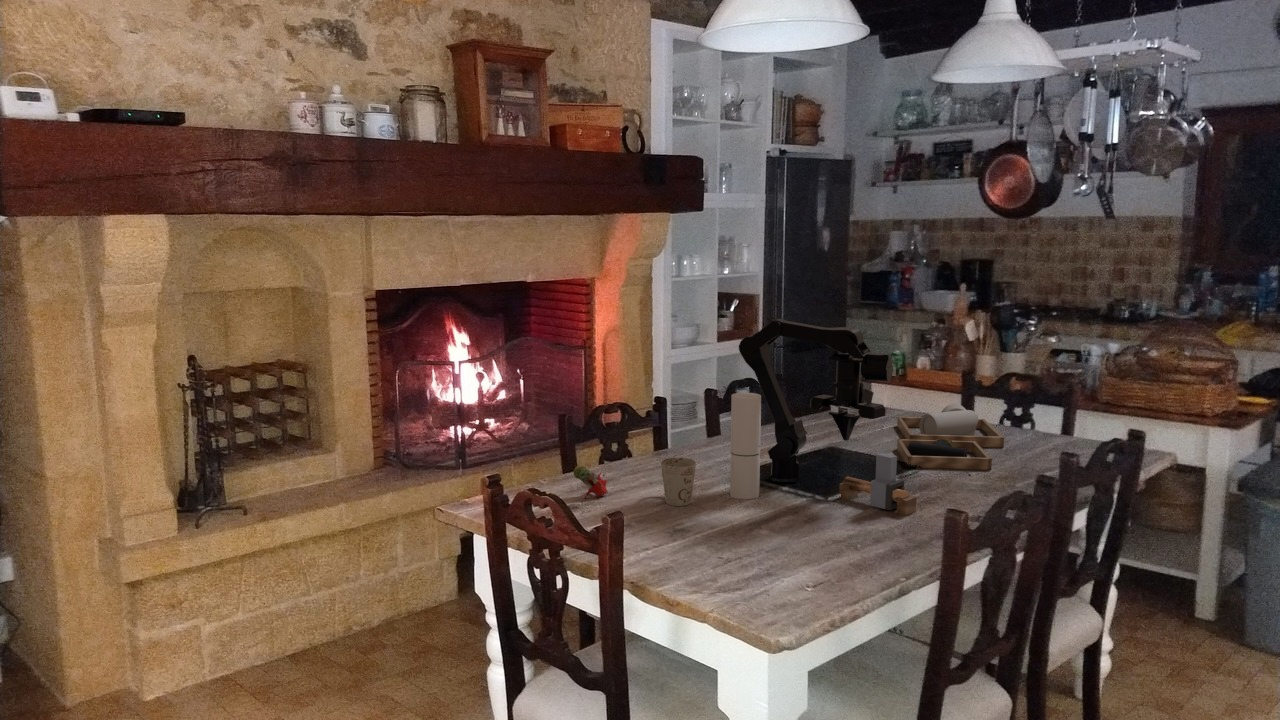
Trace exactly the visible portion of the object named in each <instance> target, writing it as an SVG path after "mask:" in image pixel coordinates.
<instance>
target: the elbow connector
mask: <svg viewBox="0 0 1280 720" xmlns="http://www.w3.org/2000/svg"><path fill="white" fill-rule="evenodd" d="M920 418H921V420H920V427H919V431H920V435H958V436H975V434H976V430H977V429H976V425H977V423H978V419H979V415H978V413H977V412H976V411H975V410H970V409H966V408H965V407H964V406H963V405H961V404H958V403H950V404H947V405H946V406H945V407H943V409H942V410H941V411H940V412H932V413H924V414H923V415H922V416H921V417H920Z"/></svg>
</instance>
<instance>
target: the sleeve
mask: <svg viewBox="0 0 1280 720" xmlns="http://www.w3.org/2000/svg"><path fill="white" fill-rule="evenodd" d="M875 457H876V460H875V479H873V480H871V481H870V482H871V495H870V502H869V505H870V506H872V507H876V508H879V509H883V510H886V509H885V499H886V484H888V483H891V482H894V481H897V480H899V479H900V478H897V463H898V462H897V461H898V456H897V455H894V454H888V453H885V452H880V453H877V454H876V455H875ZM896 488H897V487H896ZM892 502H894V501H892Z"/></svg>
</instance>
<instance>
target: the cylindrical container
mask: <svg viewBox="0 0 1280 720" xmlns="http://www.w3.org/2000/svg"><path fill="white" fill-rule="evenodd" d="M730 397H731V403H730V404H731V407H730V411H731V412H730V414H731V415H730V420H731V421H730V469H729V470H730V478H729V483H730V484H729V494H730V496H731V497H732V498H735V499H739V500H753V499H757V498H758V497H760V472H761V471H760V470H761V469H760V468H761V467H760V466H761V463H760V462H761V423H762V422H761V420H762V414H761V413H762V395H761V394H759V393H755V392H736V393H732V394H731V396H730Z"/></svg>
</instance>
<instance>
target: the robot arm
mask: <svg viewBox="0 0 1280 720" xmlns="http://www.w3.org/2000/svg"><path fill="white" fill-rule="evenodd" d="M780 337H784V338H790V339H796V340H801V341H807V342H812V343H818V344H822V345H824V346H826V347H828V348H830V349H831V350H834V352H833V353H832V355H829V357H828V358H827V359H828V361H835V362H836V375H835V378H836V379H835V382H832V387H833V388H835V396H834V395H830V394H829V395H828V394H821V395H820V394H819V395H816V396H812V398H811V399H810V406H809V407H810V409H815V410H821V409H822V408H823V407H827V408H830V411H829V412H828V415H830V416H831V418H832V419H833V421H834V422H835V424H836V426H837V429H838V430H839V433H840V435H841V437H842V439H843V441H849V439H850V437H851V434H852V433H853V430H854V427H855V425H857V424H856V423H857V422H858V420H859V419H860V418H863V419H869V420H875V419H878V418H883V417H886V410H887V409H886V407H885V406H884V404H882V403H881V404H880V403H877V402H876V403H875V402H872V400H873V398H874V391H871V390H869V389H867V388H864V383H863V382H861V381H860V380H861V377H862V378H864V381H868V382H870V381H871V382H873V381H874V382H881V383H883V382H884V383H891V380H892V376H893V371H894V369H893V365H892V359H891V354H890V353H873V352H872V350H871V349H870V347H868V345H867V344H866V342H865V341H864V335H863V333H862V331H861V330H860V329H859V328H857V327H855V326H854V327H853V326H851V327H850V326H849V327H848V326H847V327H845V326H843V327H842V326H841V327H839V326H838V327H824V326H818V325H813V324H806V323H802V322H796V321H790V320H785V319H783V318H778V319H776V320H772V321H770V323H769V324H768V325H766V326H765V327H763V328H762V329H761V330H759V331H757V332H756V333H754V334H751V335H749V336H745V337H743V338H742V339H740V340H741V341H740V342H739V345H738V351H739V354H740V355H741V357H742V358H743V360H744V362H745V363H746V364H747V365H748V367H750V368H751V370H752V371H753V372H754V374H755V377H756V379H757V382H758V385H759V387H760V389H761V392H762V394H763V397H764V400H765V402H766V404H767V406H768V409H769V412H770V415H771V416H772V419H773V421H774V436H775V441H776V444H775V445H773V446H772V447H771V448H770V449H769V450H767V451H768V452H767V453H768V456H769V459H770V460H771V472H770V476H771V475H772V478H777V479H791V478H798V479H799V466H800V465H799V461H798V459H797V455H798V454H799V452H800V450H801V449H802V448H804V447H805V445H806V442H807V438H808V437H807V435H808V432H807V430H806V429H805V427H804V422H803V420H802V418H801V419H798V420H796V419H795V418H794V417H793V416H792V414H791V411H790V409H789V405H787V402H786V399H785V396H784V393H783V391H782V388H781V386H780V384H779V382H778V381H779V380H778V379H777V377H776V374H775V372H774V369H773V367H772V363H771V362H772V359H771V358H772V357H771V354H772V352H771V348H770V345H771V344H773V343H774V342H775V341H776V340H777V339H779V338H780Z"/></svg>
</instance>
